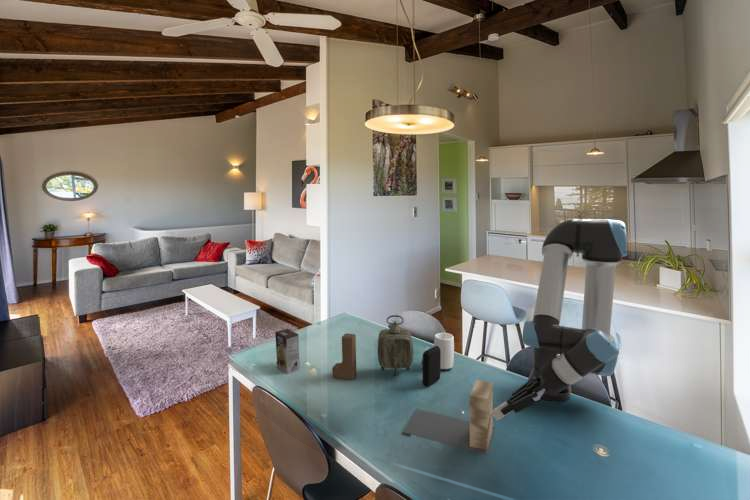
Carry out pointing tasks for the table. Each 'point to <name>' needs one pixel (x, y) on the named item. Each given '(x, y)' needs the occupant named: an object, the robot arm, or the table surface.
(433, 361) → the carrying case or bag
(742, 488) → the table surface
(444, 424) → the mat
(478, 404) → the slab
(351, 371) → the wooden block
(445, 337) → the cup
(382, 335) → the tabletop clock
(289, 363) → the coffee box
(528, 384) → the robot arm
